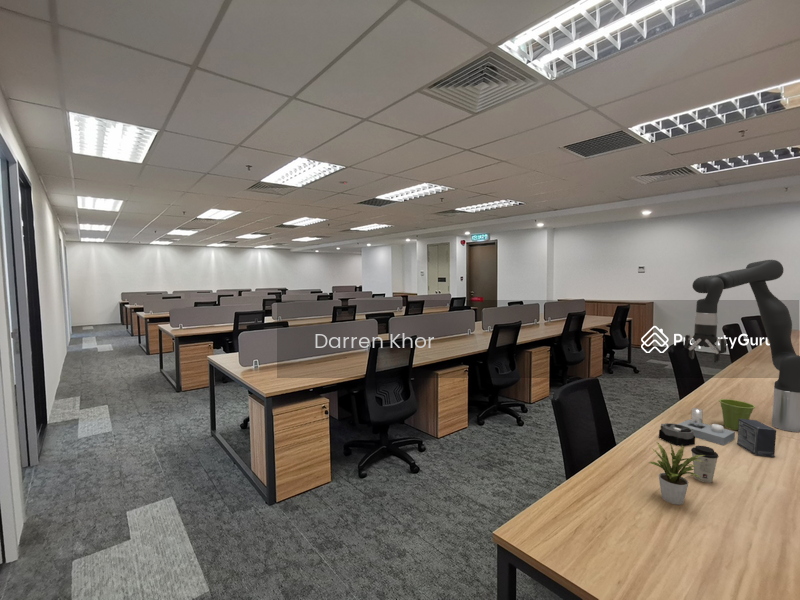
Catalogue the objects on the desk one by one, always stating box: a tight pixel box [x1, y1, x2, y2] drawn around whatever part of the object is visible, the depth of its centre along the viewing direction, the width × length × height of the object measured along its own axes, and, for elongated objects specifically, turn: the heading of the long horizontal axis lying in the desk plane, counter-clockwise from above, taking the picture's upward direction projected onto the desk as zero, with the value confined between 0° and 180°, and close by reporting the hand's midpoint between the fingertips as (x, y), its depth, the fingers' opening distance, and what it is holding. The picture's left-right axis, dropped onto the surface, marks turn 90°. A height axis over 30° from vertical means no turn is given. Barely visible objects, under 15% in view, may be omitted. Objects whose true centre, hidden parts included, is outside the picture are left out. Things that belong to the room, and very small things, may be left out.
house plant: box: [648, 441, 705, 506], centre depth 108 cm, size 14×14×16 cm
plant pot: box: [718, 398, 756, 431], centre depth 165 cm, size 12×12×11 cm
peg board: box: [677, 419, 736, 446], centre depth 157 cm, size 12×16×5 cm
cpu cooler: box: [658, 422, 696, 447], centre depth 151 cm, size 10×6×10 cm
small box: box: [736, 419, 777, 458], centre depth 143 cm, size 11×6×10 cm, turn 168°
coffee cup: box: [690, 445, 719, 484], centre depth 122 cm, size 7×7×10 cm
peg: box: [691, 407, 704, 429], centre depth 160 cm, size 4×4×10 cm
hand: (703, 360), depth 163 cm, fingers open, 8 cm apart
